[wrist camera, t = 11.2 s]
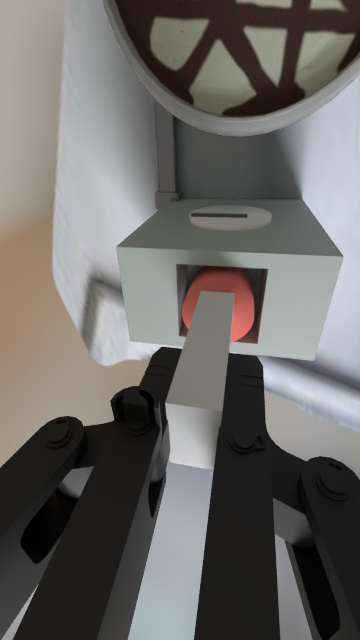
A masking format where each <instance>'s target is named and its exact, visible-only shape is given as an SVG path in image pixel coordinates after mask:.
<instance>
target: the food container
mask: <svg viewBox="0 0 360 640" xmlns="http://www.w3.org/2000/svg"><path fill="white" fill-rule="evenodd" d="M103 4H104V7H105V11H106V13H107V16H108V18H109V21H110V23H111V26H112V28H113V31H114V33H115V36H116V38H117V41H118V42H119V44H120V46H121V48H122V50H123V51H124V53H125V55H126V57H127V59H128V60H129V62H130V64H131V66H132V68H133V69H134V71H135V73H136V75H137V77H138V78H139V79H140V81H141V82H142V83H143V84H144V86H145V87H146V88H147V90H148V91H149V92H150V94H151V95H152V96H153V97H154V98H155V99H156V100H157V101H158V102H159V103H160V104H161V105H162V106H163V107H164V108H165V109H166V110H167V111H168V112H170V113H171V114H173V115H174V116H176V117H177V118H179V119H180V120H181V121H183V122H184V123H186V124H188V125H191V126H193V127H195V128H197V129H200V130H202V131H205V132H209V133H213V134H217V135H221V136H236V137H245V136H253V135H260V134H266V133H269V132H272V131H275V130H278V129H281V128H285V127H287V126H289V125H291V124H293V123H295V122H297V121H299V120H301V119H303V118H305V117H307V116H309V115H311V114H312V113H314V112H315V111H316V110H318V109H319V108H321V107H322V106H324V105H325V104H327V103H328V102H330V101H331V100H332V99H333V98H335V97H336V96H337V95H338V94H339V93H340V92H341V91H342V90H344V89H345V88H346V87H347V86H348V85H349V84H350V83H351V82H353V81H354V80H355V79H356V78H357V76H358V75H359V74H360V0H103Z"/></svg>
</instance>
